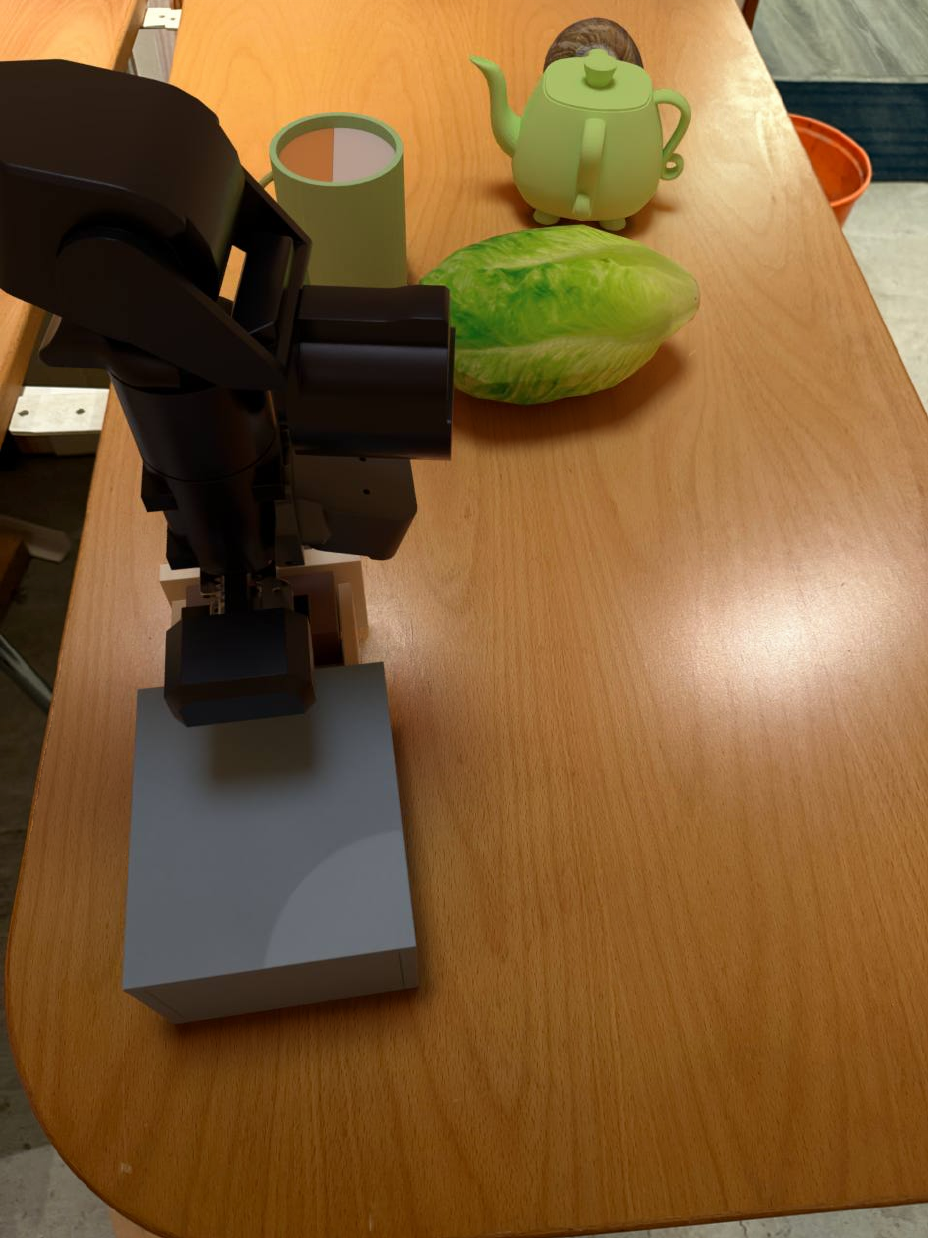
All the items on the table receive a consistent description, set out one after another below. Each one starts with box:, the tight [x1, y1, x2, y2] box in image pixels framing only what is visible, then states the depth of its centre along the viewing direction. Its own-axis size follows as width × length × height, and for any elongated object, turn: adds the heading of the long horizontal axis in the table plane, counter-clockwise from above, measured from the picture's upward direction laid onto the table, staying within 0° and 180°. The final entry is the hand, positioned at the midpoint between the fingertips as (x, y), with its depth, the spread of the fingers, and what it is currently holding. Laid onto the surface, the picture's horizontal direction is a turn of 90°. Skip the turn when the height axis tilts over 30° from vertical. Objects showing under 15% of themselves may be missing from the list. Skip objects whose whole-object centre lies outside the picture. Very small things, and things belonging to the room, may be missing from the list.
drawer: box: [158, 545, 370, 669], centre depth 52 cm, size 18×11×7 cm, turn 8°
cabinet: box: [121, 660, 420, 1025], centre depth 46 cm, size 15×13×9 cm
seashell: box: [542, 16, 645, 74], centre depth 91 cm, size 11×9×8 cm
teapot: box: [468, 49, 692, 231], centre depth 80 cm, size 16×14×13 cm
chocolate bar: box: [186, 571, 343, 666], centre depth 50 cm, size 4×8×4 cm, turn 98°
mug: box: [257, 111, 408, 288], centre depth 73 cm, size 13×10×12 cm
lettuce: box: [417, 224, 701, 406], centre depth 67 cm, size 13×23×12 cm, turn 103°
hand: (266, 630), depth 50 cm, fingers closed on chocolate bar, 4 cm apart
